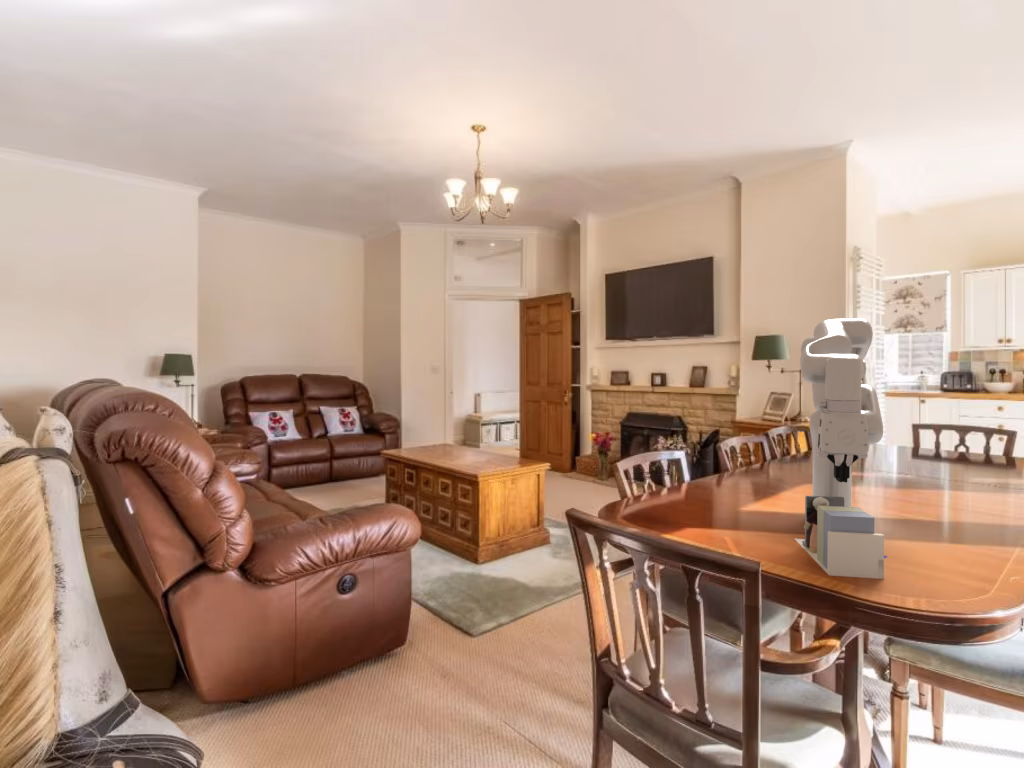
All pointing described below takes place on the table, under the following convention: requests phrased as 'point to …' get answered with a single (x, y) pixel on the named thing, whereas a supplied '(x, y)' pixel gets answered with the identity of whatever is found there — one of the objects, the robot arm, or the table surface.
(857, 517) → the book slate
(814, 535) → the grandmother figurine
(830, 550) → the book rack
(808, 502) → the bookend
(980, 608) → the table surface
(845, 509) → the book sage
